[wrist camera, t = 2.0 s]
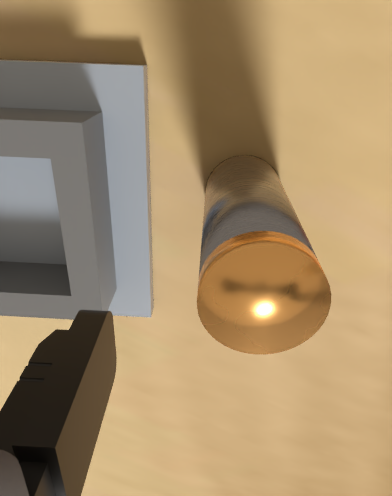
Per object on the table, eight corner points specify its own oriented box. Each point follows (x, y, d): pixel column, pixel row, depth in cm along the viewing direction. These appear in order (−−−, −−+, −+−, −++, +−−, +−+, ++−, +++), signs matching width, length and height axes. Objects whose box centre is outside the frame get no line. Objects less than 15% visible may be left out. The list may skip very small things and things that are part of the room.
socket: (146, 64, 17) (129, 69, 14) (153, 307, 24) (142, 352, 20) (-146, 53, 18) (-236, 55, 14) (-61, 295, 24) (-107, 337, 21)
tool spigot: (285, 157, 19) (344, 250, 10) (275, 228, 21) (317, 357, 12) (207, 153, 19) (199, 242, 10) (204, 224, 21) (195, 350, 12)
